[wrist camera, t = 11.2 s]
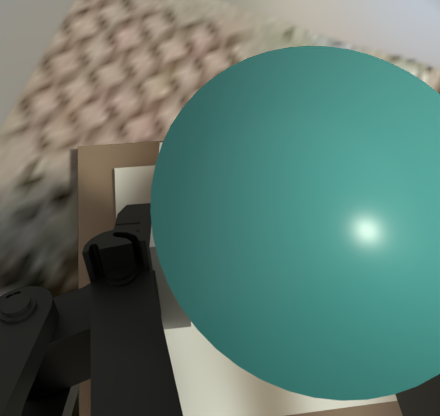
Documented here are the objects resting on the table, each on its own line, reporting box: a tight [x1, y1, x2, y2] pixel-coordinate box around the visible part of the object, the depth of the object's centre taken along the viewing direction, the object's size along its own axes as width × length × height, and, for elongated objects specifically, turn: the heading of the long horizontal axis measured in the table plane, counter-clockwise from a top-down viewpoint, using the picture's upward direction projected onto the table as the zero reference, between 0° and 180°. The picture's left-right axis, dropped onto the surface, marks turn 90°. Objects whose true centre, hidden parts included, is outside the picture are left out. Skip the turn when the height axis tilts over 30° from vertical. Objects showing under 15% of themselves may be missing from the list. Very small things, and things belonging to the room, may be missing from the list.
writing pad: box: [78, 141, 403, 416], centre depth 18 cm, size 20×16×1 cm
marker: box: [150, 46, 440, 401], centre depth 11 cm, size 4×4×14 cm
